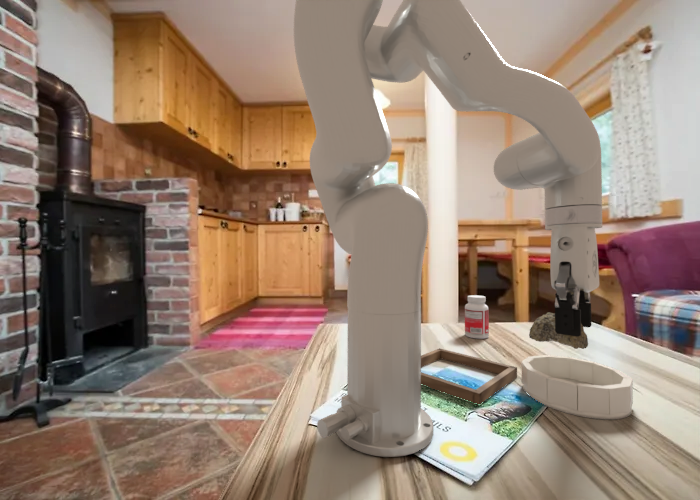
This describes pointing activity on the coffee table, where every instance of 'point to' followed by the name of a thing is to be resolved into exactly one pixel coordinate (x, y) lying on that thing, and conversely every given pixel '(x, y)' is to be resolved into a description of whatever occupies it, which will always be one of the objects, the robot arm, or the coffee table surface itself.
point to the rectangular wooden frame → (487, 389)
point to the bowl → (578, 386)
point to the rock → (546, 332)
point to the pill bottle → (476, 317)
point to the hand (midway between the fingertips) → (573, 329)
